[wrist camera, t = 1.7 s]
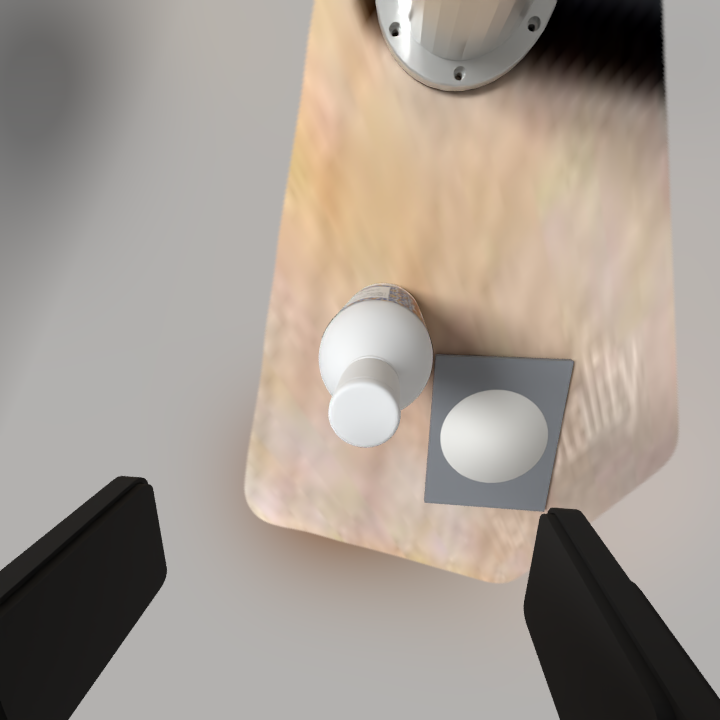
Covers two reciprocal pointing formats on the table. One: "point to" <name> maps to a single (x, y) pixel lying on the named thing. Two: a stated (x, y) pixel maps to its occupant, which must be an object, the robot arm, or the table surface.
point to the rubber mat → (495, 430)
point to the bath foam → (374, 363)
